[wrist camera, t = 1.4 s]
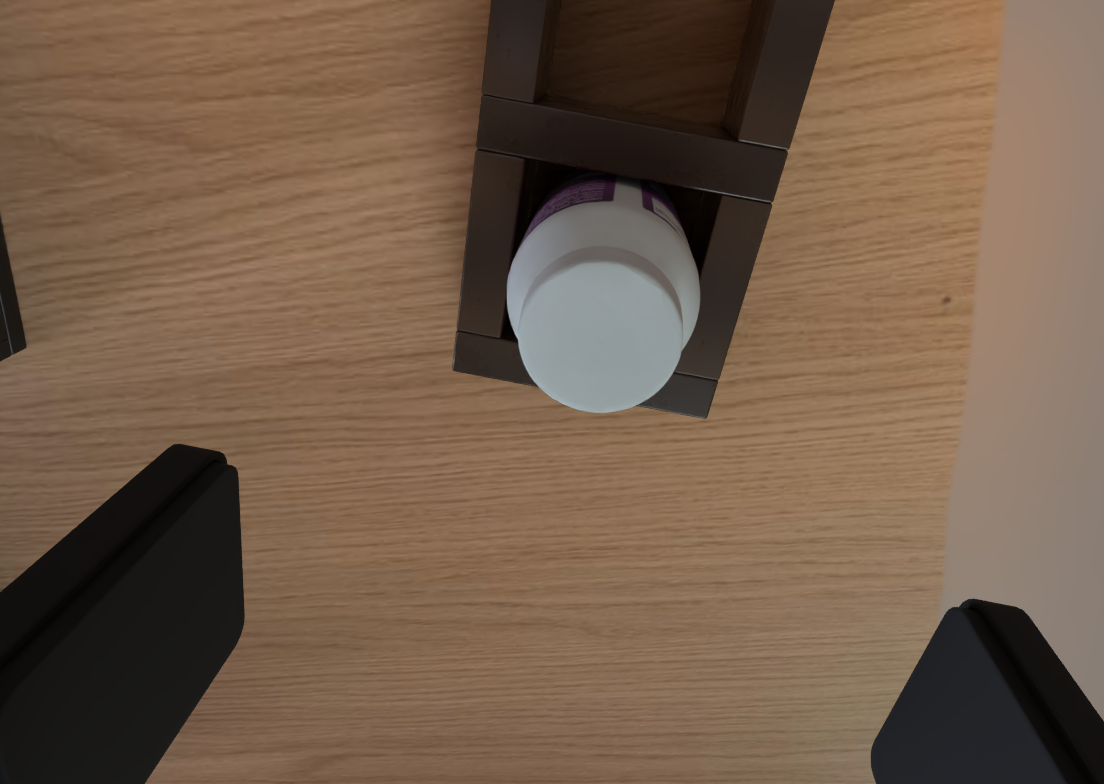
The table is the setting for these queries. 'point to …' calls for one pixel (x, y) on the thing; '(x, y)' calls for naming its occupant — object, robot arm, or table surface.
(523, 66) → the rack
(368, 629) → the table surface
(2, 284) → the open box
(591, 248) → the pill bottle
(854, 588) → the table surface
